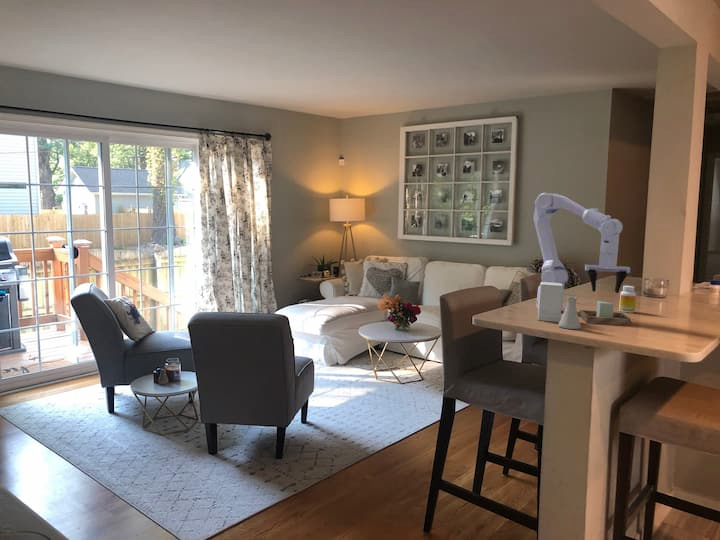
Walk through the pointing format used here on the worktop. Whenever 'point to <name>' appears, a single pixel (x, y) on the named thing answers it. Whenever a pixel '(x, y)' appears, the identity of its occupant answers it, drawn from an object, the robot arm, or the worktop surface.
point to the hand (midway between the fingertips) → (605, 291)
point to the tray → (605, 318)
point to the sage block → (604, 309)
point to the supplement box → (550, 301)
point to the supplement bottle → (627, 299)
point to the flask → (570, 315)
